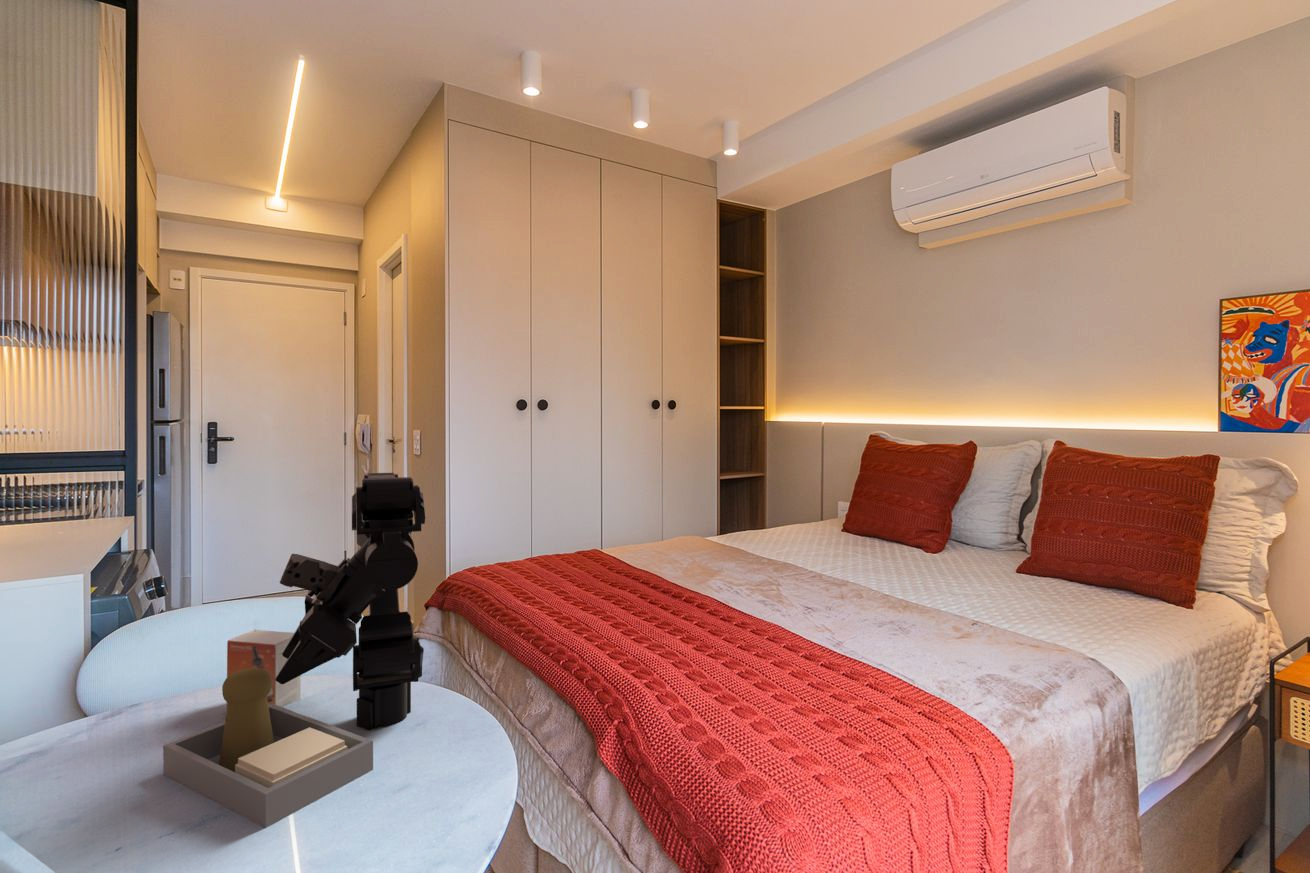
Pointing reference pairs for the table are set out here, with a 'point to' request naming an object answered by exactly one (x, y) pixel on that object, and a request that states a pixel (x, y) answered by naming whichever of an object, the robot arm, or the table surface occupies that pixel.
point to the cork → (245, 715)
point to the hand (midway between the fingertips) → (282, 668)
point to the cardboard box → (289, 757)
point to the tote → (201, 772)
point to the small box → (264, 661)
